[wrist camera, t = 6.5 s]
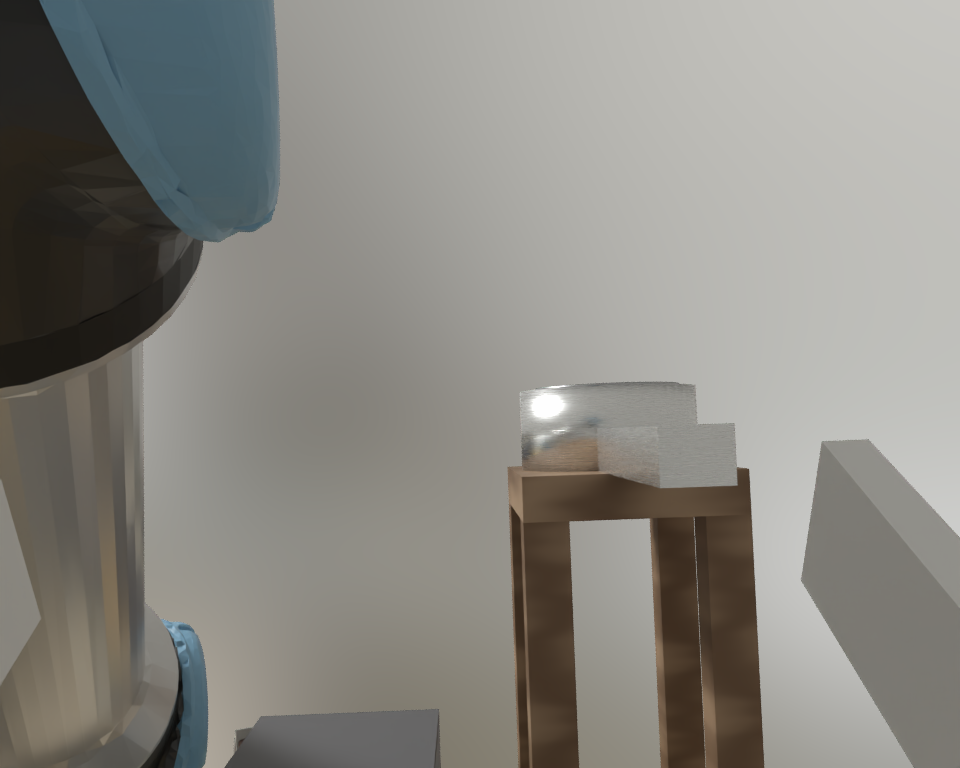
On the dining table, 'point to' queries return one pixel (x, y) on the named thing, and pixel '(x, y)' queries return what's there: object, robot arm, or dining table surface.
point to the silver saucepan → (626, 434)
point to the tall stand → (722, 614)
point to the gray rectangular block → (343, 741)
